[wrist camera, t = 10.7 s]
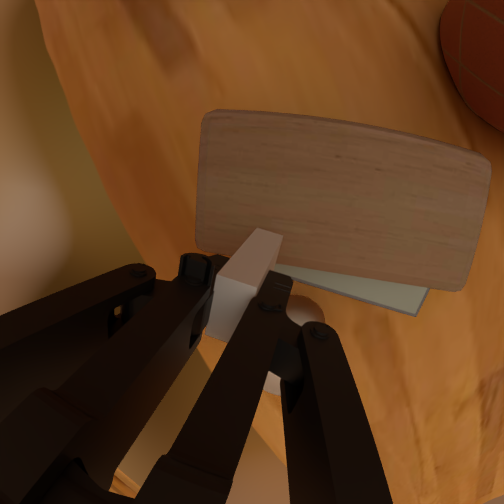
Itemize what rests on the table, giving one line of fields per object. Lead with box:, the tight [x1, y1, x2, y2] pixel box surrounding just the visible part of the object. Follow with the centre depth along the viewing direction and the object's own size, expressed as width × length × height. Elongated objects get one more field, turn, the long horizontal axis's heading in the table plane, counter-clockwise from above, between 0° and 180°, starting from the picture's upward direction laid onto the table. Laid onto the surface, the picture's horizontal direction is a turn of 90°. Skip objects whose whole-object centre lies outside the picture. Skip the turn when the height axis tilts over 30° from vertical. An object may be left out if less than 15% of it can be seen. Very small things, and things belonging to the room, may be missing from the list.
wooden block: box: [195, 109, 492, 292], centre depth 23 cm, size 10×10×20 cm
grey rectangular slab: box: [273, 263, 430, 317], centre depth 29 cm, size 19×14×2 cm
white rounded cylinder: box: [263, 295, 325, 396], centre depth 31 cm, size 7×7×9 cm
